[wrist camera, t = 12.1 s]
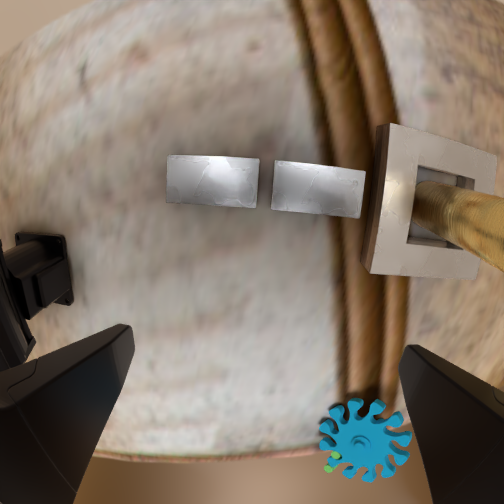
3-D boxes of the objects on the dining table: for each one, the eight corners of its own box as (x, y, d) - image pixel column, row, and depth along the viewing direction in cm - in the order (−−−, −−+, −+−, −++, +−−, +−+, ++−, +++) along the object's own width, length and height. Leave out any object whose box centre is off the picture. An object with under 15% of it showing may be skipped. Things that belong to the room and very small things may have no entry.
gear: (363, 381, 23) (428, 457, 17) (385, 363, 27) (441, 427, 22) (292, 437, 27) (345, 500, 22) (321, 417, 32) (368, 473, 26)
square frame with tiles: (170, 245, 22) (160, 256, 19) (176, 107, 19) (165, 102, 16) (538, 276, 21) (551, 283, 19) (555, 188, 18) (570, 192, 16)
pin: (400, 215, 20) (515, 277, 8) (418, 172, 19) (545, 198, 7) (434, 234, 20) (544, 301, 8) (451, 194, 19) (571, 234, 7)
